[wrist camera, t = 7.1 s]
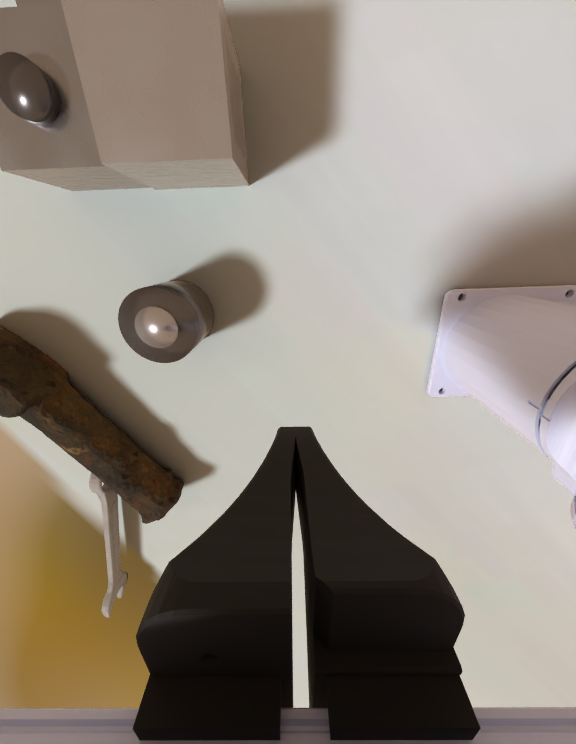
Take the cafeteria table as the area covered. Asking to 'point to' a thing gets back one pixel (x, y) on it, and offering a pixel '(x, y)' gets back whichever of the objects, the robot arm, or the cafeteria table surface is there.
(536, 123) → the cafeteria table surface
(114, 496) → the combination wrench
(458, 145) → the cafeteria table surface
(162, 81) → the grey block
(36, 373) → the rough brown wooden log
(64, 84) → the ratchet
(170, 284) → the socket
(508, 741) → the robot arm
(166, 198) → the cafeteria table surface
